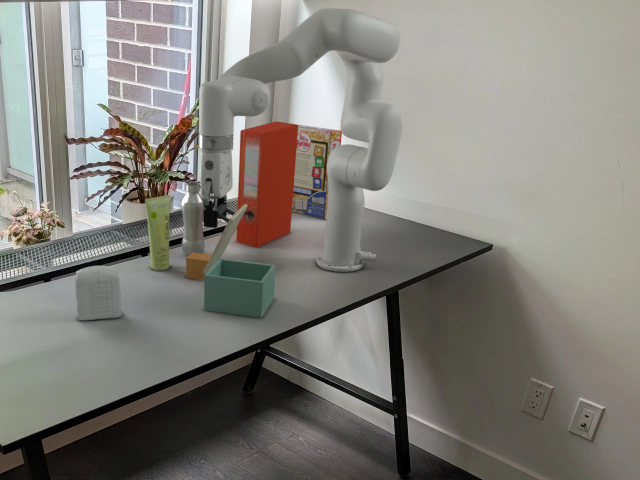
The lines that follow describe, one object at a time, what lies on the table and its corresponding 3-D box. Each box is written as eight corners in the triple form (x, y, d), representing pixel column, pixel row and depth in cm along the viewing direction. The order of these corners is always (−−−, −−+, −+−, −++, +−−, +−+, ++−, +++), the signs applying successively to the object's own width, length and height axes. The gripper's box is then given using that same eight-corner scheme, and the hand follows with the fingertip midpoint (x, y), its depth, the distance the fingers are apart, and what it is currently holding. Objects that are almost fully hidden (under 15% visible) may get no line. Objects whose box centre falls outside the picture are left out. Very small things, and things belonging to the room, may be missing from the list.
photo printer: (120, 311, 173) (117, 261, 167) (122, 318, 170) (120, 268, 164) (76, 315, 171) (72, 265, 165) (78, 322, 168) (74, 271, 162)
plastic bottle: (196, 260, 203) (195, 188, 193) (176, 255, 207) (175, 184, 197) (209, 253, 208) (210, 183, 198) (190, 249, 211) (190, 179, 201)
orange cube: (213, 274, 194) (213, 254, 191) (207, 280, 190) (207, 260, 187) (192, 271, 196) (192, 252, 193) (186, 278, 192) (185, 258, 189)
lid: (247, 205, 170) (228, 193, 171) (233, 219, 160) (212, 207, 161) (221, 257, 179) (202, 246, 179) (205, 274, 169) (185, 262, 169)
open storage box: (273, 298, 179) (275, 264, 175) (261, 318, 169) (263, 282, 165) (219, 291, 183) (219, 258, 179) (204, 310, 174) (204, 275, 169)
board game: (335, 216, 239) (343, 130, 226) (324, 220, 235) (332, 133, 222) (285, 204, 251) (290, 122, 238) (273, 208, 247) (278, 124, 234)
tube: (164, 272, 195) (163, 200, 185) (147, 270, 197) (144, 198, 187) (171, 265, 200) (170, 194, 190) (154, 263, 201) (152, 192, 192)
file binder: (291, 233, 224) (298, 124, 208) (258, 247, 212) (263, 133, 196) (269, 228, 228) (274, 121, 212) (236, 242, 217) (239, 130, 201)
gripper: (220, 151, 152) (219, 235, 161) (243, 136, 166) (240, 213, 175) (186, 149, 154) (187, 232, 163) (211, 134, 168) (211, 211, 177)
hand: (215, 222), depth 169 cm, fingers closed on lid, 6 cm apart
